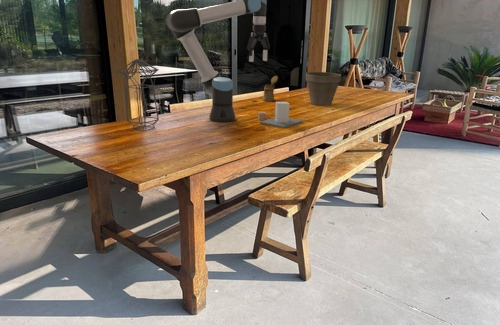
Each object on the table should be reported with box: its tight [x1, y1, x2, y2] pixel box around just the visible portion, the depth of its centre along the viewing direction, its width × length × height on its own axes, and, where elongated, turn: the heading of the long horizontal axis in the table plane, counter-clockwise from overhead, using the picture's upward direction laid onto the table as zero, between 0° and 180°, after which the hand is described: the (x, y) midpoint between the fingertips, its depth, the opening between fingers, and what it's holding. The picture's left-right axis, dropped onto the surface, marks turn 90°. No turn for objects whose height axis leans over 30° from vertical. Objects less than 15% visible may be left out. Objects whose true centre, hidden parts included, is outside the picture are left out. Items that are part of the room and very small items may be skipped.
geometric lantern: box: [117, 58, 160, 132], centre depth 197 cm, size 16×16×35 cm
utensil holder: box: [262, 75, 279, 102], centre depth 292 cm, size 9×14×18 cm, turn 138°
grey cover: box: [274, 101, 290, 122], centre depth 220 cm, size 7×7×10 cm
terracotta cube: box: [257, 111, 267, 121], centre depth 230 cm, size 4×4×4 cm
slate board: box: [259, 117, 304, 129], centre depth 222 cm, size 20×16×1 cm
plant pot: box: [305, 71, 342, 107], centre depth 280 cm, size 25×25×22 cm
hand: (258, 61), depth 238 cm, fingers open, 13 cm apart
